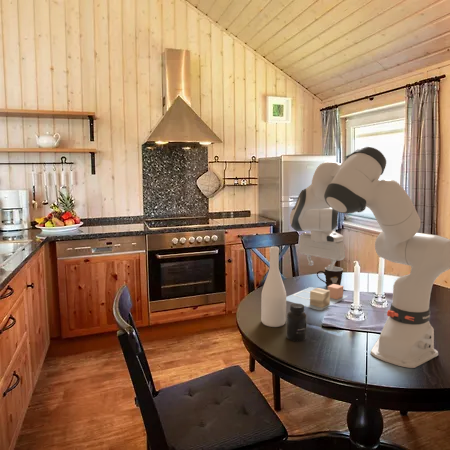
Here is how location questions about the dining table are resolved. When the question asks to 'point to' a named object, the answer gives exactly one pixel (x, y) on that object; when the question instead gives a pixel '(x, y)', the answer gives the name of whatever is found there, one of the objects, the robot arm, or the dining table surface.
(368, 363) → the dining table surface
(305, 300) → the white rectangular board
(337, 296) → the terracotta cube
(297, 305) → the supplement bottle
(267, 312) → the wine bottle
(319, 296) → the maple block
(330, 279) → the coffee mug
